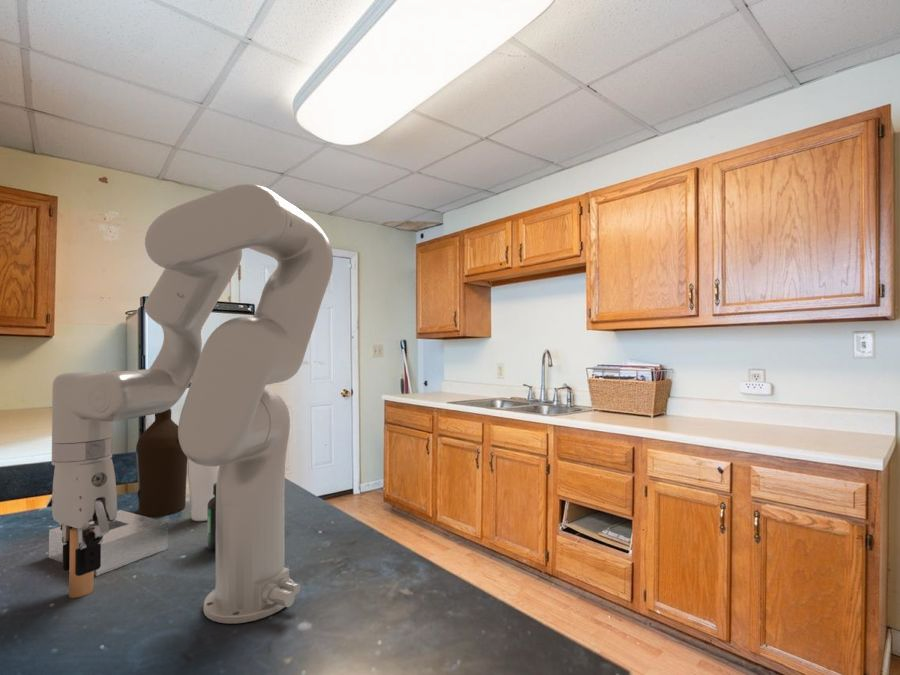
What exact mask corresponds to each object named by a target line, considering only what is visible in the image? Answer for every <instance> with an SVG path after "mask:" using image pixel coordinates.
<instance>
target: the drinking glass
mask: <svg viewBox="0 0 900 675" xmlns="http://www.w3.org/2000/svg"><path fill="white" fill-rule="evenodd" d="M218 470H219V466H213V467H209V466H202V465H199V464H196V463H194V462H193V461H191V460H190V459H189V458H188V460H187V479H188V487H189V488H188V489H189V490H188V491H189V500H190V501H189V502H190V517H191V520H192V521H194V522H207V506H208V502H209V501H210V500H211V499H212V498H213V497H214V496H215V495H213V485H214V484H215V483H217V475H218Z"/></svg>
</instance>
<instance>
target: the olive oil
mask: <svg viewBox="0 0 900 675" xmlns="http://www.w3.org/2000/svg"><path fill="white" fill-rule="evenodd" d="M178 426H179V424H177V423H175V422H174V421H173V419H172V409H171V408H170V409H168V410H166V411H164V412H161V413H157V414H154V421H153V422H152V423H151V424H150V426H148V427H147V428H146V429H145V430H144V432H142V434H140V436H139V438H138V439H137V443H136V446H135V447H136V448H135V454H136V457H135V458H136V474H137V476H136V477H137V499H138V515H142V516H145V517H149V518H153V517H161V516H163V517H164V516H167V515H171V514H175V513H178V512H181V511H182V510H184V509H185V508H186V503H187V502H186V495H187V494H186V493H187V478H188V457H187V456H186V455H185V454H184V452H183V450H182V448H181V446H180V443H179V438H178Z"/></svg>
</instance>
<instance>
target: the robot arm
mask: <svg viewBox="0 0 900 675" xmlns="http://www.w3.org/2000/svg"><path fill="white" fill-rule="evenodd" d="M144 246H145V252H146V253H147V255H148V257H149V259H150V260H151V261H152V262H153V264H154V263H155V264H156V265H157V266H158V267H160V268H163V269H164V270H163V271H162V273H161V275H160V277H159V278H158V279H157V282H156V283H155V285H154V287H153V289H152V290H151V291H150V293H149V295H148V297H147V298H146V300H145V302H144V305H143V307H144V312H145V313H146V314H147V316H148V318H150V319H151V320H152V321H154V322H155V323H156V324H158V325H159V326H160V327H161V328H162V333H163V341H162V345H161V348H160V350H159V352H158V354H157V356H156V357H155V359H154V361H153V362H152V364H151V366H149V368H146V369H131V370H118V371H107V372H102V371H79V372H78V371H77V372H66V373H60V374H59V375H57V376H55V378H54V380H53V382H52V387H51V388H52V395H51V396H52V397H51V398H52V401H51V403H52V404H51V407H52V408H51V413H52V414H51V415H52V416H51V465H52V466H54V471H53V480H52V489H51V490H52V491H51V493H52V494H51V512H52V514H51V516H52V518H53V520H54V522H57V523H58V525H59V527H61V528H60V529H61V530H62V543H63V544H65V545H63V563H62V570H63V571H65V572H68V571H69V564H70V529H71V528H73V527H74V528H77V529H78V546H79V549H75V575H77V576H81V575H83V574H86V573H89V572H92V571H94V570H97V569H99V568H100V566H101V543H102V541H103V536H104V535H105V534H107V533H108V532H109V530H110V529H109V525H108V522H112V521H114V520H115V519H116V518H117V511H118V496H117V495H118V494H117V484H116V483H117V480H116V474H115V467H114V463H113V462H114V461H113V459H112V458H113V425H114V424H113V422H121V421H127V420H130V419H136V418H141V417H145V416H151V415H155V414H157V413H161V412H164V411H166V410H168V409H171V408H173V407H174V406H175V404H177V403H178V402H179V401H180V399H181V397H182V396H183V395H184V394H185V392H186V390H187V389H188V391H187V393H186V396H185V400H184V403H183V406H182V409H181V411H180V416H179V418H178V419H179V420H178V438H179V443H180V446H181V448H182V450H183V452H184V454H185V455H186V456H187V457H188V458H189V459H190V460H191V461H193V462H194V463H196V464H199V465H202V466H209V467H213V466H219V470H218V475H217V483H216V552H215V588H214V589H212V590H211V592H209V593H208V594H207V596H205V599H204V601H203V614H204V615H205V616H206V617H205V618H207V619H209V620H211V621H213V622H217V623H219V624H227V625H229V624H231V625H232V624H244V623H245V624H246V623H249V622H253V621H258V620H261V619H264V618H267V617H270V616H272V615H273V614H276V613H277V612H280V611H282V609H284V608H289V607H291V606H293V604H294V602H295V600H296V595H298V594H299V593H300V591H301V588H302V587H301V584H299V583H297V582H295V581H294V580H293V579H292V578H290V568H288V567H285V566H286V565H285V559H286V558H285V556H286V555H285V554H286V552H285V544H286V543H285V542H286V540H285V539H286V538H285V536H286V535H285V534H286V533H285V532H286V530H285V522H286V521H285V518H286V517H285V513H286V512H285V492H286V491H285V490H286V488H285V487H286V460H287V459H286V458H287V451H288V450H287V449H288V444H289V438H290V429H291V417H290V412H289V408H288V406H287V404H286V401H285V400H283V398H282V397H281V396H280V395H279V394H277V393H276V392H274V391H273V390H271V389H268V388H266V386H267V385H273V384H278V383H279V384H280V383H283V382H285V381H288V380H290V379H291V378H293V377H294V376H295V375H297V373H298V372H299V370H300V368H301V367H302V364H303V361H304V358H305V356H306V353H307V349H308V345H309V343H310V340H311V337H312V333H313V331H314V328H315V324H316V322H317V318H318V315H319V311H320V308H321V305H322V303H323V299H324V297H325V293H326V291H327V288H328V285H329V282H330V279H331V276H332V271H333V266H334V255H333V254H334V253H333V249H332V245H331V243H330V240H329V238H328V236H327V235H326V233H325V232H324V230H323V229H322V228H321V227H320V225H318V224H317V222H315V221H314V220H313V219H312V218H311V217H310V216H309V215H307V214H306V213H305V212H303V211H302V210H301V209H299V207H297V206H295V205H294V204H292V203H291V202H289V201H287V200H286V199H284V198H283V197H282V196H280V195H279V194H277V193H276V192H274V191H273V190H270V189H269V188H267V187H264V186H263V185H262V186H261V185H259V184H252V183H244V184H237V185H233V186H229V187H226V188H223V189H221V190H218V191H215V192H212V193H210V194H207V195H204V196H201V197H198V198H196V199H192V200H190V201H187V202H184V203H182V204H180V205H179V204H178V205H176V206H174V207H172V208H170V209H168V210H166V211H164V212H163V213H161V214H160V215H159V216H157V217H156V218H155V219H154V220H153V221H152V223H151V224H150V225H149V226H148V229H147V231H146V233H145V238H144ZM245 249H250V250H253V251H255V252H258V253H260V254H263V255H266V256H268V257H272V259H274V260H276V261H277V267H276V268H275V270H274V271H273V273H272V274H271V275H270V276H269V277H268V280H267V281H266V283H265V284H264V287H263V289H262V292H261V295H260V300H259V302H258V304H257V307H256V310H255V312H254V315H253V317H252V316H240V317H234V318H231V319H228V320H226V321H224V322H223V323H221V324H220V325H219V326H218V327H217V326H216V328H215V329H214V330H213V331H212V332H211V334H210V335H209V336H208V338H207V339H206V341H205V343H204V344H203V342H202V330H203V328H204V325H205V324H206V322H207V320H208V319H209V316H210V315H211V314H212V312H213V310H214V308H215V306H216V305H217V303H218V302H219V300H220V298H221V297H222V294H223V293H224V291H225V290H226V288H227V286H228V284H229V283H230V281H231V279H232V278H233V276H234V274H235V273H236V272H237V269H238V267H239V266H240V264H241V261H242V257H243V250H245ZM188 387H189V388H188ZM91 521H94V524H91V525H90V524H89V522H91ZM92 529H94V530H93V531H92V532H89V533H88V535H87V536H86V531H89V530H92ZM66 543H67V544H66Z"/></svg>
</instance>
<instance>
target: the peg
mask: <svg viewBox="0 0 900 675" xmlns="http://www.w3.org/2000/svg"><path fill="white" fill-rule="evenodd" d="M90 525H91V524H90ZM93 530H94V529H92V530H89V531H86V536H87V535H88V533H89V532H92V531H93ZM75 549H79V546H78V529H77V528H74V527H73V528H71V529H70V564H69V570H68V571H69V574H68V575H69V576H68V578H69V580H68V581H69V582H68V584H69V586H68V589H69V590H68V597H69V598H73V599H74V598H76V599H77V598H81V597H84V596H87V595H89V594H91V593H92V592H93V591H95V590H94V585H95V583H94V581H95V577H94V576H95V575H94V571H92V572H89V573H86V574H83V575H81V576H77V575H75Z"/></svg>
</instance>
